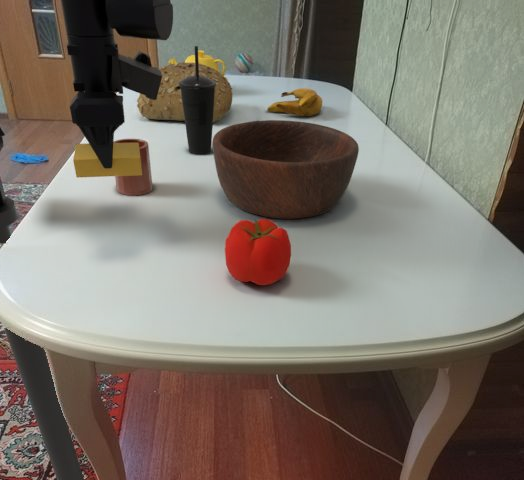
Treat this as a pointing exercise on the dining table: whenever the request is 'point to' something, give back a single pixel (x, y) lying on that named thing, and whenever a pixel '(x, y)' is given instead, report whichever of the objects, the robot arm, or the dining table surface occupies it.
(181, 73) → the bread
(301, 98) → the banana
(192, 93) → the drinking cup
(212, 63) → the teapot
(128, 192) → the cup
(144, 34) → the robot arm
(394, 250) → the dining table surface
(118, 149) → the block
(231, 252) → the tomato
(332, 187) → the wooden bowl
